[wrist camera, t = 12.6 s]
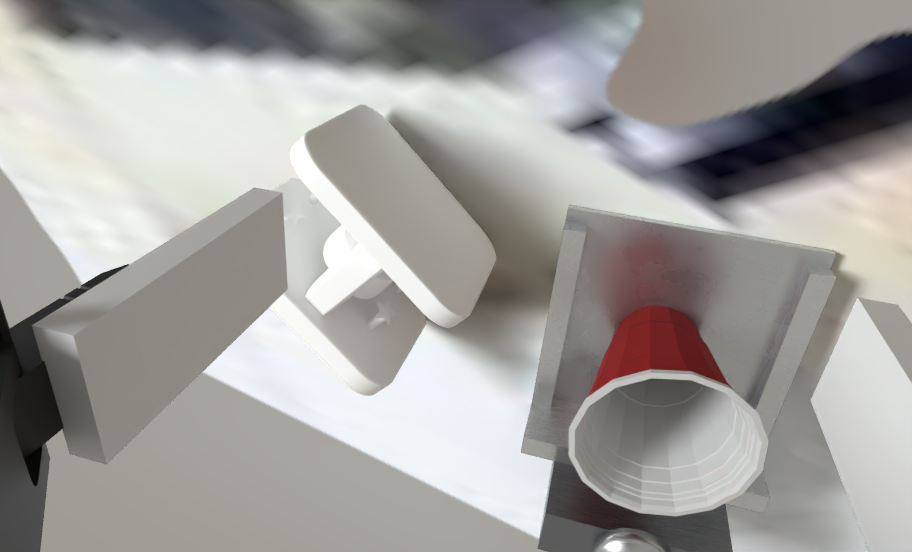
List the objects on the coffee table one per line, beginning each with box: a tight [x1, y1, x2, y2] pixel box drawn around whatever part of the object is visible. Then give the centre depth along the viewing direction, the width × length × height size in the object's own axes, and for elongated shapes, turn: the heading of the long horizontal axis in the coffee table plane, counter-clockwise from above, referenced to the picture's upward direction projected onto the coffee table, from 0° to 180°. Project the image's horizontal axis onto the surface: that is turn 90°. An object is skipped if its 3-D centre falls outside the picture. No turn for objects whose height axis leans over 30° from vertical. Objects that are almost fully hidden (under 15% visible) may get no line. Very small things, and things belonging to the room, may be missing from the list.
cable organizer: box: [270, 105, 496, 396], centre depth 42 cm, size 15×11×12 cm
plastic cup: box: [569, 306, 769, 516], centre depth 40 cm, size 11×11×12 cm
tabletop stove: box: [521, 205, 836, 552], centre depth 41 cm, size 22×17×12 cm
